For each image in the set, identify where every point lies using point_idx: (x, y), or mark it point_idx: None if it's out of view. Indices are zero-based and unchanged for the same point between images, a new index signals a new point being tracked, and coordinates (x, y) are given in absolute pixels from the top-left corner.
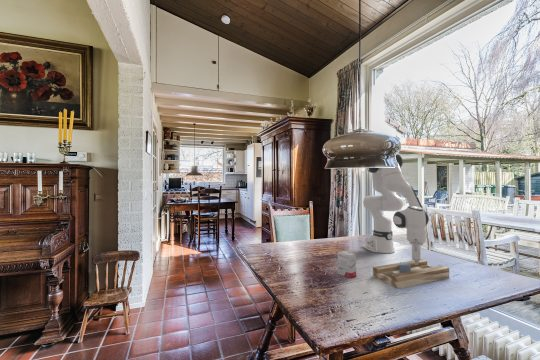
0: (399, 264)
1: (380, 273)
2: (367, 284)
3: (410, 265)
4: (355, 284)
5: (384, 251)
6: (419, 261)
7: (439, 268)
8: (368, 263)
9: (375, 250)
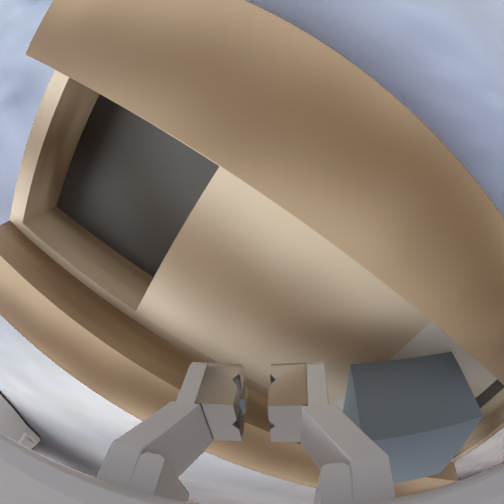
0: (430, 474)
1: (453, 459)
2: (500, 434)
3: (436, 424)
4: (497, 450)
5: (7, 411)
6: (43, 312)
7: (179, 20)
8: (201, 483)
9: (28, 436)
